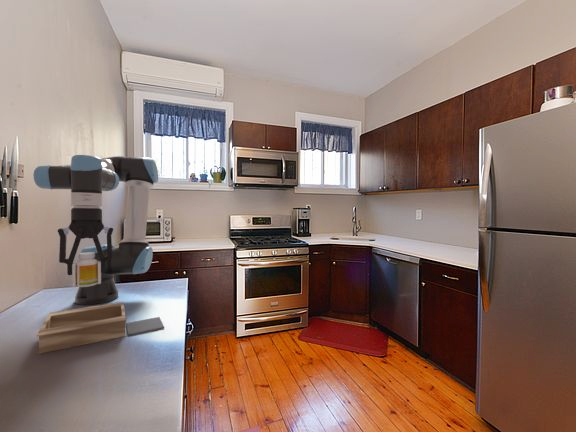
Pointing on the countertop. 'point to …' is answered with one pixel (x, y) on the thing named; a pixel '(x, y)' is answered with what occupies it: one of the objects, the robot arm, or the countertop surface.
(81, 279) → the supplement bottle
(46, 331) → the wooden frame
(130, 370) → the countertop surface
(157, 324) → the mat
